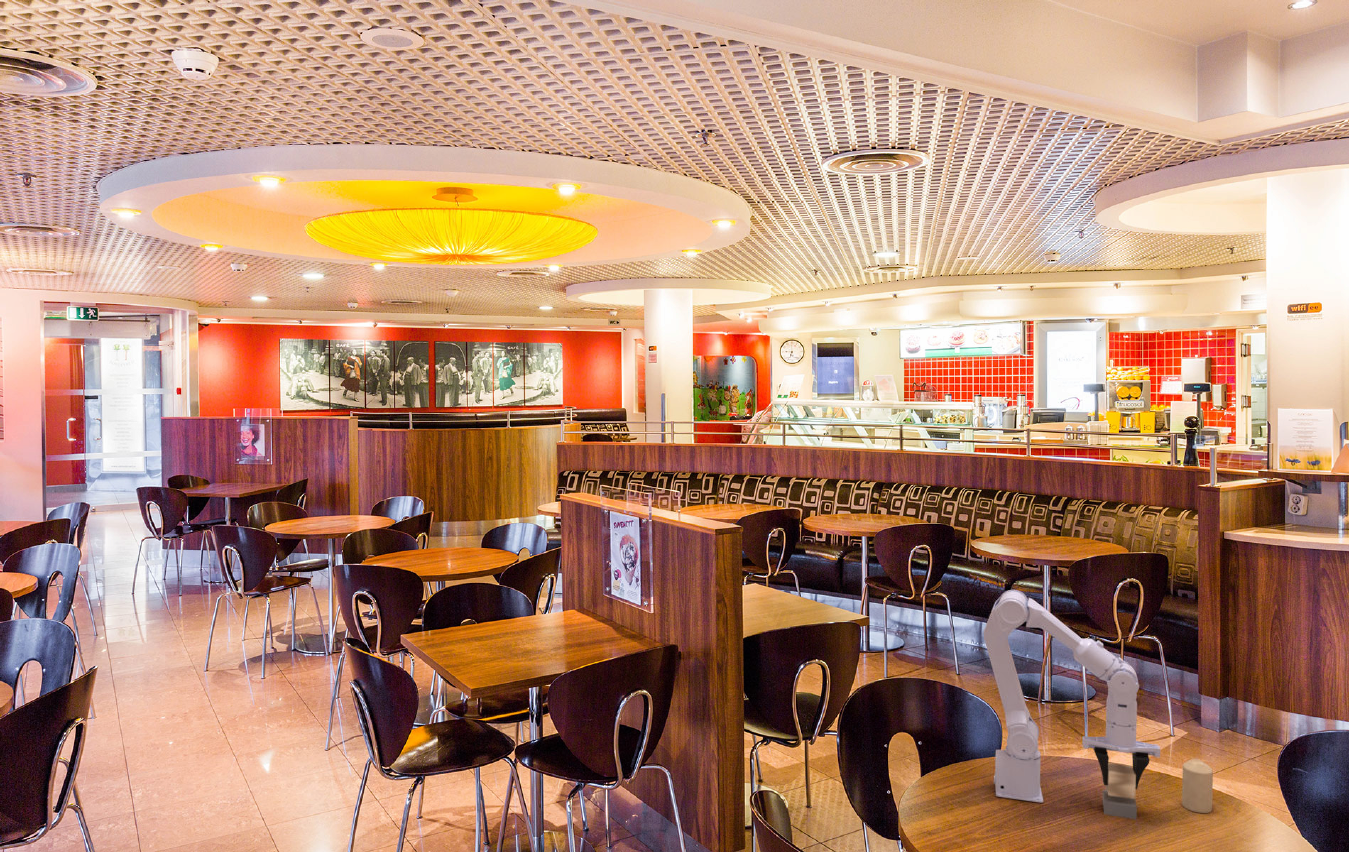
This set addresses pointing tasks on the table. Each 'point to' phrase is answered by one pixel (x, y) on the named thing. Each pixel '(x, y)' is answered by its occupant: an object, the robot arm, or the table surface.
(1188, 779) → the candle
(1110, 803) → the gray block
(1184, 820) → the table surface
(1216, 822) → the table surface
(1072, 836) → the table surface
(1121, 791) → the beech cube
